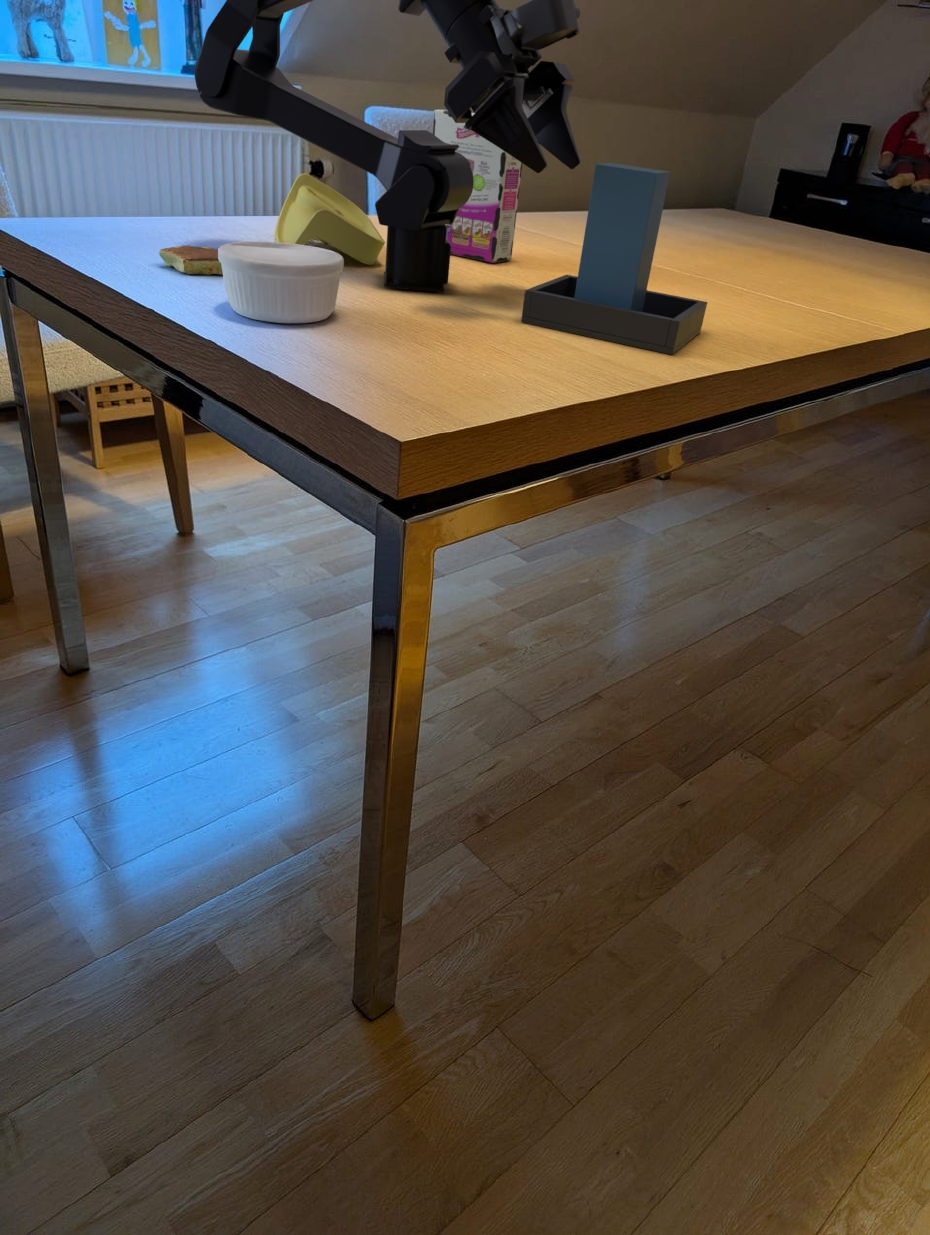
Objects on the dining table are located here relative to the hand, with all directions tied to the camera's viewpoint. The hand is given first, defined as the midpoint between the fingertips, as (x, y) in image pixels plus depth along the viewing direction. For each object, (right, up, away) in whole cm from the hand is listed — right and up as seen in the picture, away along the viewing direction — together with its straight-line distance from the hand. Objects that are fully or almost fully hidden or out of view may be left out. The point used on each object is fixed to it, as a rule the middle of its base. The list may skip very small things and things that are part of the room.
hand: (560, 168), depth 85 cm
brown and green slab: (-36, -6, +10) cm, 38 cm away
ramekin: (-26, -15, -3) cm, 31 cm away
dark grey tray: (+6, -14, +5) cm, 16 cm away
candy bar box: (-9, +4, +32) cm, 33 cm away
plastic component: (-26, +2, +24) cm, 36 cm away
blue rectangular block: (+5, -14, +4) cm, 15 cm away
